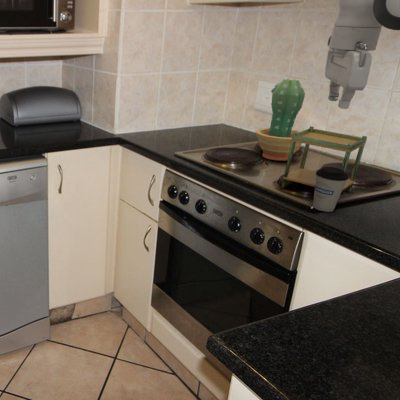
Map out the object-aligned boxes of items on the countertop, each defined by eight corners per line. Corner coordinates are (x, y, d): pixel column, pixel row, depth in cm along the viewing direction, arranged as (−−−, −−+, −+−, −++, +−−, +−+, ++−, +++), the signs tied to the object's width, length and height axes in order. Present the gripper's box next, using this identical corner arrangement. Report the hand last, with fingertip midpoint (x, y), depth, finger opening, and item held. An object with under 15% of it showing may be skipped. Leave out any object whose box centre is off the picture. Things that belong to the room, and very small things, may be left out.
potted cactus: (304, 154, 161) (318, 78, 152) (302, 165, 148) (318, 83, 139) (254, 148, 168) (265, 75, 159) (249, 159, 155) (260, 81, 146)
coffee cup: (322, 201, 123) (331, 164, 119) (345, 211, 117) (356, 173, 113) (301, 204, 121) (310, 166, 117) (324, 214, 115) (334, 175, 111)
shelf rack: (351, 191, 130) (367, 136, 124) (336, 202, 122) (352, 144, 116) (298, 178, 139) (310, 126, 133) (280, 187, 132) (292, 133, 126)
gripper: (386, 45, 94) (367, 114, 99) (356, 38, 112) (341, 97, 117) (350, 43, 96) (333, 112, 101) (326, 37, 114) (313, 95, 119)
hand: (337, 104), depth 109 cm, fingers open, 8 cm apart
